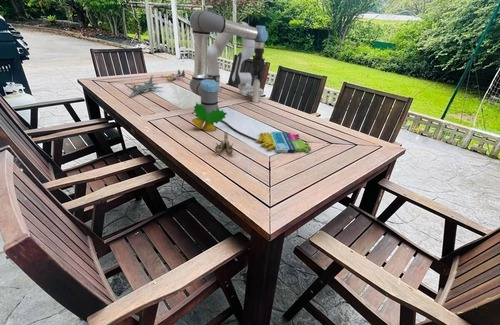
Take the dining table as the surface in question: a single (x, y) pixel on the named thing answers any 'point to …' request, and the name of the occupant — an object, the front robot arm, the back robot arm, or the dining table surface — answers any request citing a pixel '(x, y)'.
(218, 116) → the ornament
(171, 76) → the toy
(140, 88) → the airplane
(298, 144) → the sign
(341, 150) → the dining table surface
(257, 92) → the bottle
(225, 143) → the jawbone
